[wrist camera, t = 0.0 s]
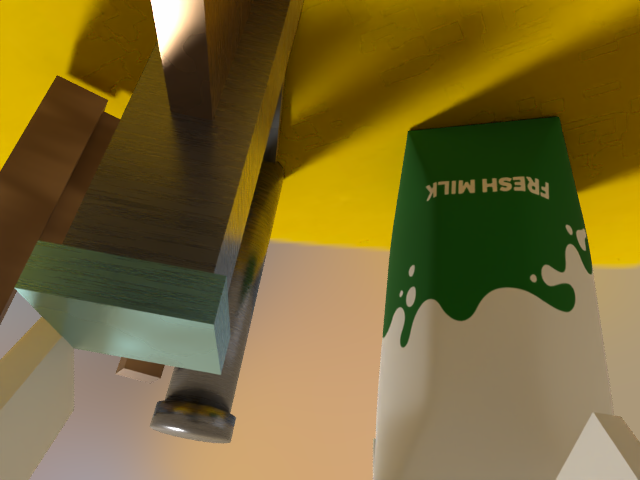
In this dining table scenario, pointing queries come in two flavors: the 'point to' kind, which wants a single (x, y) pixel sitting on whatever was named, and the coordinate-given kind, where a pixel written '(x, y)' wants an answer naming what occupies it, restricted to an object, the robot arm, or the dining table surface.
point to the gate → (54, 186)
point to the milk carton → (488, 309)
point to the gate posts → (180, 210)
